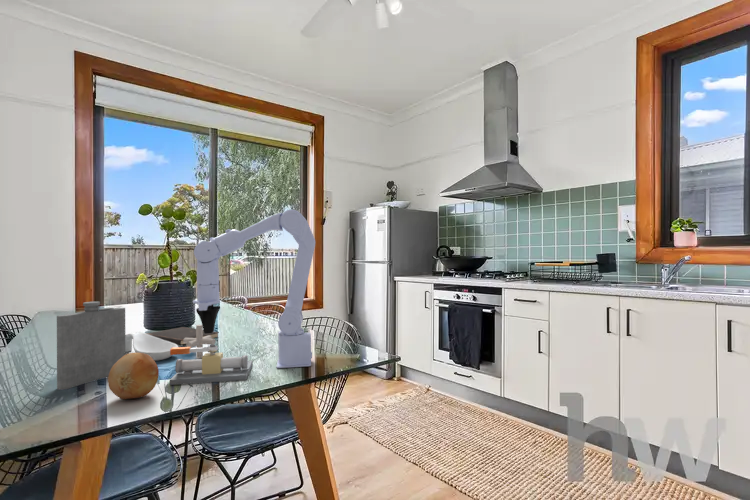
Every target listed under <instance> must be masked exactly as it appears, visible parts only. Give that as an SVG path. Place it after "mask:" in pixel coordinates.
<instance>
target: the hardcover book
mask: <svg viewBox="0 0 750 500" xmlns="http://www.w3.org/2000/svg"><path fill="white" fill-rule="evenodd" d="M219 333H220V332H219V331H215V330H214V331H213V333H207V334H205V333H204V330H203V337H205V336H208V335H210V336H211V337H212V339H215V338H218V334H219ZM146 334H149V335H151V336H154V337H157V338H160V339H162V340H165V341H169V342H172V343H175V344H177V345H178V346H182V345H186V344H185V343H183V340H184V338H196V328H195V327H194V328H193V327H185V326H180V327H175V328H171V329H170V328H169V329H165V330H159V331H153V332H147V333H146Z"/></svg>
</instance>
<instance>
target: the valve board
mask: <svg viewBox="0 0 750 500" xmlns="http://www.w3.org/2000/svg"><path fill="white" fill-rule="evenodd" d="M203 354H204V355H203V357H202V358H195V359H184V358H177V359H176V360H175V366H174V367H175V374H174V375H173V376H172V377H171V378H170V379H169V385H170V386H172V385H173V386H175V385H186V384H188V385H189V384H190V385H191V384H202V383H217V382H219V383H220V382H231V381H232V382H234V381H246V380H247V379H248V377H249V375H248V374H250V372H251V369H252V367H253V362H254V361H253V360H249V356H248V355H247V354H246V355H242V356H232V357H231V356H230V357H229V356H228V357H224V352H206V353H205V352H204V353H203Z"/></svg>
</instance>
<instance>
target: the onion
mask: <svg viewBox="0 0 750 500" xmlns="http://www.w3.org/2000/svg"><path fill="white" fill-rule="evenodd" d="M159 371H160V370H159V366H158V364H157V363H156V361H154V360H153V359H152V358H151V357H150V356H149V355H147V354H144V353H135V352H129V353H128V352H127V353H126V355H124V356H123V357H122V358H120V359H119V360H118V361H117V362H116V363H115V364H114V365H113V367H112V368H111V370H110V373H109V376H108V377H107V385H108V388H109V390H110V391H111V393H112V394H113V395H115V396H116V397H117V398H119V399H121V400H130V399H140V398H144V397H146V396H147V395H148V394H150V393H151V392H152V391H153V390H154V388H156V386H157V382H158V379H159V375H160V374H159V373H160V372H159Z"/></svg>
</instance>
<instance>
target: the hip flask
mask: <svg viewBox="0 0 750 500" xmlns="http://www.w3.org/2000/svg"><path fill="white" fill-rule="evenodd" d="M99 306H101V301H85V302H83V303H82V307H84V308H83V310H84V311H79V312H71V313H65V314H59V315H58V314H57V315H56V389H57V390H59V391H60V390H61V391H62V390H69V389H71V388H74V387H77V386H81V385H84V383H85V384H87V383H91V381H92V382H95V381H99V380H102V378H103V379H106V377H107V378H108V376H109V373H110V370H111V368H112V367H113V365H114V364H115V363H116V362H117V361H118V360H119V359H120V358H122V357H123V356H124V355H126V354H127V352H126V345H125V335H126V307H102V308H101V307H99ZM98 379H99V380H98ZM94 380H95V381H94Z"/></svg>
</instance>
